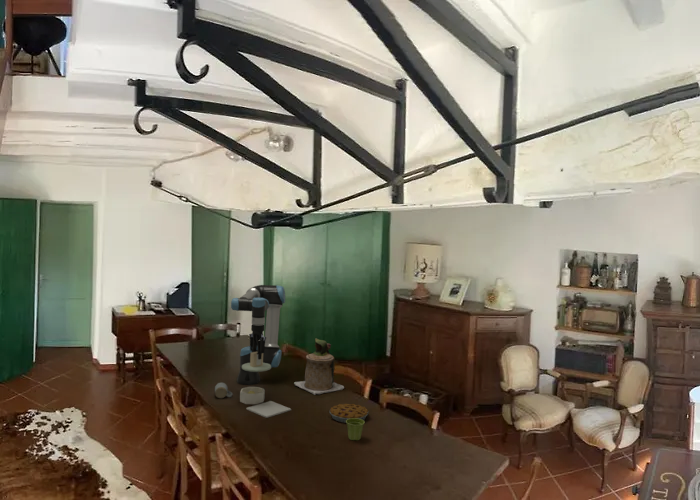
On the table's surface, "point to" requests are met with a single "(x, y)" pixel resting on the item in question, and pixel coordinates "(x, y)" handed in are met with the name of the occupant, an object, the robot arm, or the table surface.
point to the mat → (268, 409)
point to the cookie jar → (319, 371)
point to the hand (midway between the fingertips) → (256, 363)
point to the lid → (253, 366)
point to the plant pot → (354, 428)
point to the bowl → (252, 395)
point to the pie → (348, 412)
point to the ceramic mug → (222, 390)
